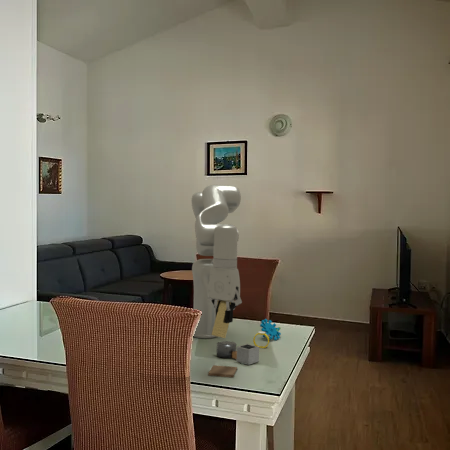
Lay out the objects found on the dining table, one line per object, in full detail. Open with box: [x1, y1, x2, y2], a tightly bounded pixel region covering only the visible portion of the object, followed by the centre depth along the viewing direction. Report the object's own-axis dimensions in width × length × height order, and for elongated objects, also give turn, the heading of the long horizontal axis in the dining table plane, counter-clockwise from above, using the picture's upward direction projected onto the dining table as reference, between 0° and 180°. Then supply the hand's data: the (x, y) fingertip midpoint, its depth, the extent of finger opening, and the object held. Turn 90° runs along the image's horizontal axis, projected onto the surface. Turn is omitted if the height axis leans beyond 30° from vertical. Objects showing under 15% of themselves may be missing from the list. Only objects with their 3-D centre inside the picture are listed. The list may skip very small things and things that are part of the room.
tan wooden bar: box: [212, 300, 235, 339], centre depth 155 cm, size 3×3×12 cm
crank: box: [216, 340, 260, 366], centre depth 171 cm, size 16×7×5 cm, turn 47°
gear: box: [259, 318, 282, 342], centre depth 200 cm, size 11×6×10 cm
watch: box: [252, 330, 270, 349], centre depth 186 cm, size 6×3×6 cm, turn 77°
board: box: [207, 364, 238, 378], centre depth 156 cm, size 8×8×1 cm
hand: (224, 321), depth 155 cm, fingers closed on tan wooden bar, 3 cm apart
